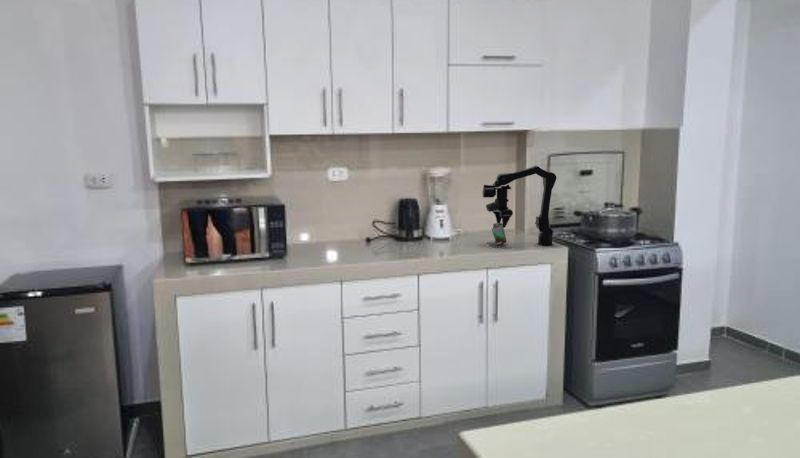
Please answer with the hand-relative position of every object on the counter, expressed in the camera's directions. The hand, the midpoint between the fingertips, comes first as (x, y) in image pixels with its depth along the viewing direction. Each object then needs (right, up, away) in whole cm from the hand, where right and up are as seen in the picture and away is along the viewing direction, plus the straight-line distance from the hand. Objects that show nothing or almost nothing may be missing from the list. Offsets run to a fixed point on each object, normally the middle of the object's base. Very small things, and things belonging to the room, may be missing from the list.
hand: (501, 225), depth 320 cm
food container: (+1, -9, +1) cm, 9 cm away
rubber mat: (-3, -11, +1) cm, 11 cm away
